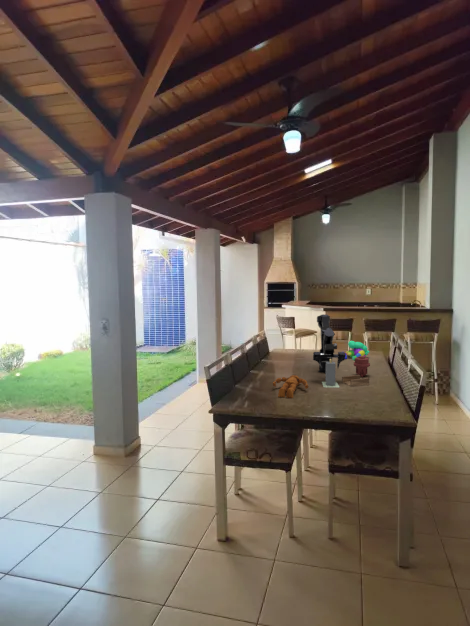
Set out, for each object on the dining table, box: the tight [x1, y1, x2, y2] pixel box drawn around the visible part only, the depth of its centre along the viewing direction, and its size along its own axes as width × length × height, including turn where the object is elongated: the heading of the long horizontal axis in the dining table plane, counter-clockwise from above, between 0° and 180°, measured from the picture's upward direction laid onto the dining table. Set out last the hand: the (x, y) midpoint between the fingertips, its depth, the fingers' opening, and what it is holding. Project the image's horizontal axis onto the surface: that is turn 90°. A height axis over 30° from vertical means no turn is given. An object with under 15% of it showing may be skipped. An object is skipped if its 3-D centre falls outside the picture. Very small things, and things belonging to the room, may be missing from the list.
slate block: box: [325, 359, 337, 386], centre depth 241 cm, size 5×5×15 cm
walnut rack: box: [341, 374, 370, 388], centre depth 244 cm, size 9×12×4 cm
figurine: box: [344, 340, 370, 361], centre depth 317 cm, size 18×14×20 cm
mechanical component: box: [353, 356, 371, 378], centre depth 262 cm, size 12×10×10 cm
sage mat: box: [321, 381, 340, 388], centre depth 242 cm, size 12×9×1 cm
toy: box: [272, 374, 309, 399], centre depth 233 cm, size 20×7×30 cm
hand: (330, 368), depth 243 cm, fingers open, 9 cm apart
